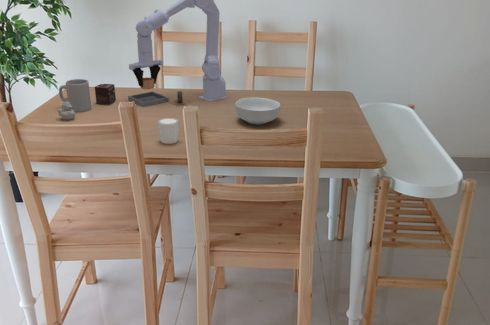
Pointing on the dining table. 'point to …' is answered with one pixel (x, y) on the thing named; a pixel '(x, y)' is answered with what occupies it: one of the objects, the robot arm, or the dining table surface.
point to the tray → (148, 99)
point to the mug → (77, 94)
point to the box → (105, 94)
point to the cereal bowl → (257, 110)
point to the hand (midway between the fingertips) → (147, 84)
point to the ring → (148, 83)
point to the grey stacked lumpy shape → (66, 111)
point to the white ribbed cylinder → (168, 130)
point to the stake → (180, 100)
